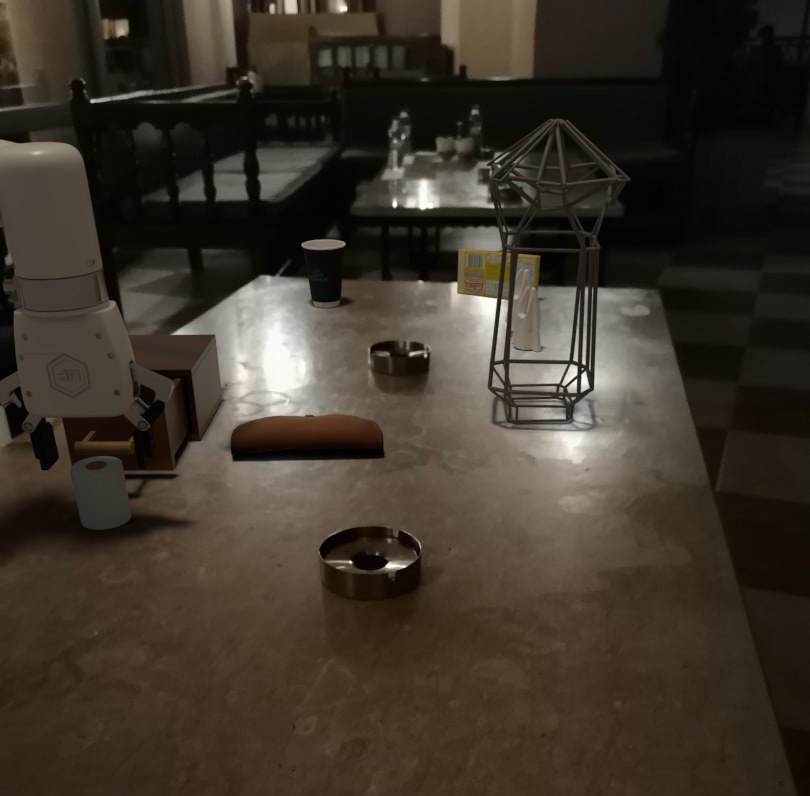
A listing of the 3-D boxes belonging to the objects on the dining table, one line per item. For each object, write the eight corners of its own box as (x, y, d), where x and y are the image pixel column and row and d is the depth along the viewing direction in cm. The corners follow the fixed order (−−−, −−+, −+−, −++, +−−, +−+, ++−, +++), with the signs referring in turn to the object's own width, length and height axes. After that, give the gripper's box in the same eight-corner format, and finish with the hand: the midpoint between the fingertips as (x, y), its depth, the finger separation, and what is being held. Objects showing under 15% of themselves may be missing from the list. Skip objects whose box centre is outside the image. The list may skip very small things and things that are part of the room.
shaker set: (504, 331, 152) (506, 263, 147) (528, 330, 152) (532, 263, 147) (515, 352, 142) (518, 280, 136) (542, 351, 142) (546, 280, 136)
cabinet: (200, 440, 111) (191, 369, 107) (98, 441, 112) (85, 370, 107) (222, 399, 124) (215, 334, 120) (131, 400, 124) (120, 335, 120)
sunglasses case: (383, 426, 114) (382, 391, 108) (384, 472, 110) (384, 439, 104) (239, 429, 113) (230, 395, 107) (236, 476, 110) (227, 443, 104)
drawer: (162, 489, 97) (152, 426, 94) (57, 489, 98) (43, 426, 94) (199, 425, 113) (191, 369, 110) (108, 426, 114) (98, 370, 110)
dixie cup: (343, 298, 173) (341, 238, 167) (351, 308, 166) (349, 246, 161) (302, 300, 171) (298, 240, 166) (308, 311, 164) (304, 249, 159)
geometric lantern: (479, 390, 126) (488, 114, 109) (593, 392, 125) (620, 113, 108) (478, 433, 113) (487, 124, 96) (606, 436, 111) (638, 124, 94)
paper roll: (74, 530, 91) (62, 475, 88) (90, 507, 96) (79, 455, 93) (123, 530, 91) (113, 475, 88) (137, 507, 96) (128, 454, 93)
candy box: (538, 300, 169) (541, 255, 165) (534, 303, 168) (536, 257, 164) (461, 290, 177) (462, 247, 173) (456, 293, 175) (457, 249, 171)
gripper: (-50, 303, 79) (-3, 481, 87) (147, 299, 79) (175, 479, 87) (-13, 283, 86) (27, 451, 94) (168, 280, 85) (193, 448, 93)
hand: (98, 464), depth 90 cm, fingers open, 9 cm apart
